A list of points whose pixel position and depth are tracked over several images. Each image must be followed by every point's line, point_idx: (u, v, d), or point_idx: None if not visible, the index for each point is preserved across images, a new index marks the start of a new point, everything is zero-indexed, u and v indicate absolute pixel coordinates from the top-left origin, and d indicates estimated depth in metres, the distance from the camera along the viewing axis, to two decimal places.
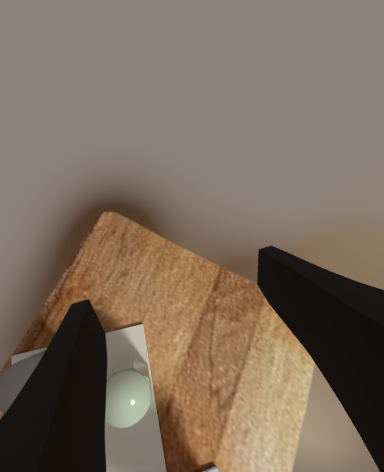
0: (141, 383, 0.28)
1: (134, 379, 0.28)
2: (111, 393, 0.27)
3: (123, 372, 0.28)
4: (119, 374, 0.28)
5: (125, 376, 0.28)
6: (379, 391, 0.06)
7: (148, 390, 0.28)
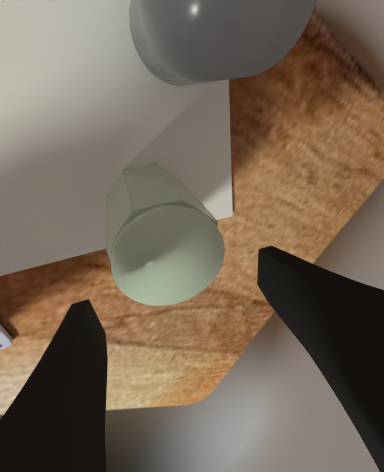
0: (196, 285, 0.13)
1: (205, 272, 0.13)
2: (186, 232, 0.11)
3: (222, 249, 0.12)
4: (220, 243, 0.12)
5: (214, 255, 0.12)
6: (379, 391, 0.06)
7: (181, 299, 0.13)
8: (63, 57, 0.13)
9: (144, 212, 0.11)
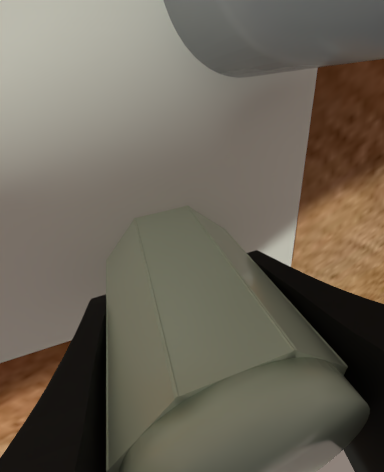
0: None
1: (314, 464, 0.06)
2: (305, 433, 0.04)
3: (357, 428, 0.06)
4: (361, 423, 0.05)
5: (341, 440, 0.06)
6: None
7: None
8: (19, 16, 0.06)
9: (209, 408, 0.04)
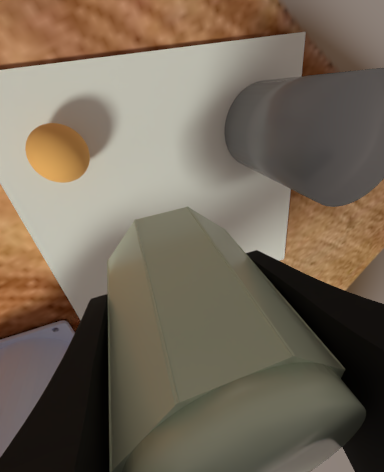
0: None
1: (312, 463, 0.06)
2: (302, 436, 0.05)
3: (354, 428, 0.06)
4: (358, 424, 0.06)
5: (338, 440, 0.06)
6: None
7: None
8: (173, 157, 0.16)
9: (209, 414, 0.04)
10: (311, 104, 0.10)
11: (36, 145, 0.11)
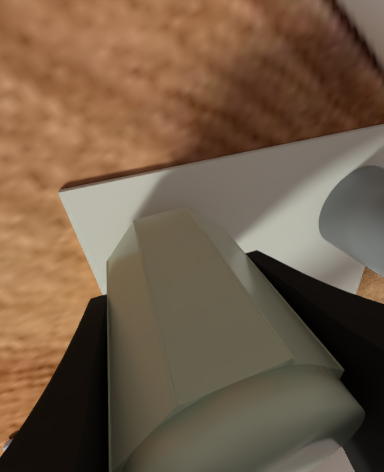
0: None
1: (311, 462, 0.06)
2: (301, 438, 0.05)
3: None
4: (357, 424, 0.06)
5: (337, 440, 0.06)
6: (357, 401, 0.06)
7: None
8: (266, 242, 0.15)
9: (207, 417, 0.04)
10: None
11: None
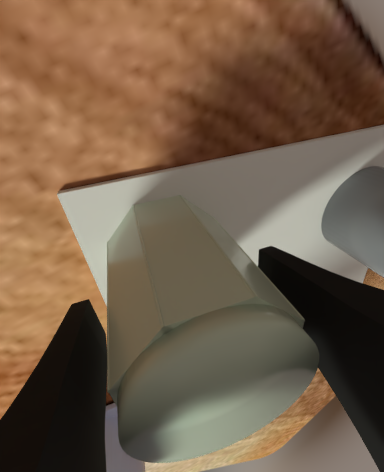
0: (259, 421, 0.08)
1: (279, 403, 0.07)
2: (263, 361, 0.06)
3: (312, 370, 0.07)
4: (314, 363, 0.07)
5: (299, 380, 0.07)
6: (379, 391, 0.06)
7: (233, 441, 0.08)
8: (268, 243, 0.15)
9: (186, 333, 0.05)
10: None
11: None
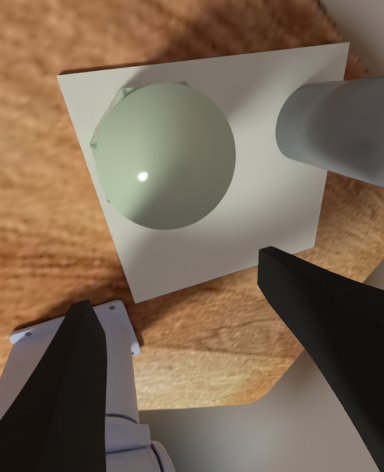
0: (200, 206, 0.11)
1: (212, 188, 0.10)
2: (190, 123, 0.09)
3: (233, 158, 0.10)
4: (231, 147, 0.10)
5: (223, 164, 0.10)
6: (379, 391, 0.06)
7: (182, 223, 0.11)
8: None
9: (137, 89, 0.08)
10: (377, 100, 0.12)
11: None
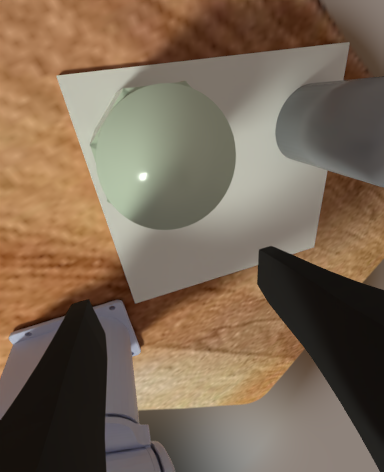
0: (200, 206, 0.11)
1: (212, 188, 0.10)
2: (190, 123, 0.09)
3: (233, 158, 0.10)
4: (231, 147, 0.10)
5: (223, 164, 0.10)
6: (379, 391, 0.06)
7: (182, 223, 0.11)
8: None
9: (137, 89, 0.08)
10: (376, 100, 0.12)
11: None
